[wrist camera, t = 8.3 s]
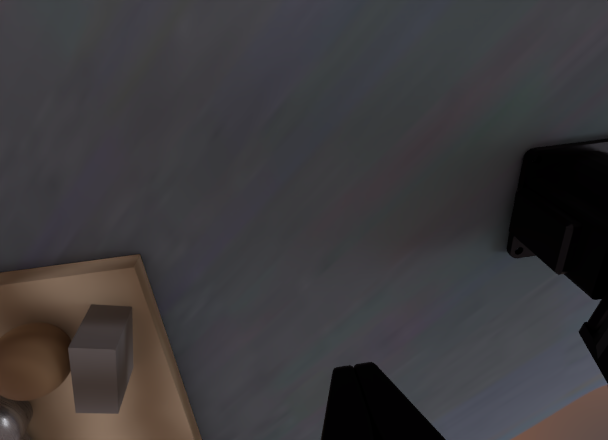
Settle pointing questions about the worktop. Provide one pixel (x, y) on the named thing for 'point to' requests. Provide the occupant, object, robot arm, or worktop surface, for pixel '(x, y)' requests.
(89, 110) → the worktop surface
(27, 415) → the lever
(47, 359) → the walnut
